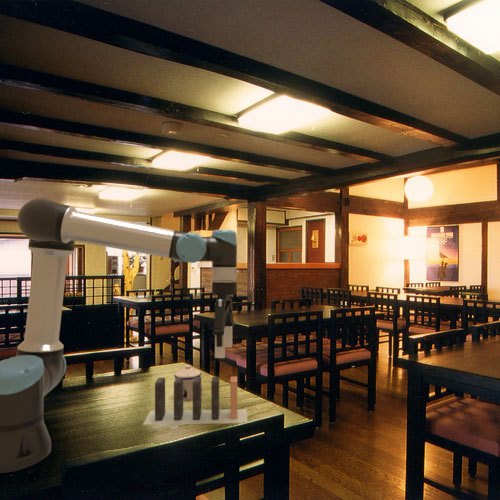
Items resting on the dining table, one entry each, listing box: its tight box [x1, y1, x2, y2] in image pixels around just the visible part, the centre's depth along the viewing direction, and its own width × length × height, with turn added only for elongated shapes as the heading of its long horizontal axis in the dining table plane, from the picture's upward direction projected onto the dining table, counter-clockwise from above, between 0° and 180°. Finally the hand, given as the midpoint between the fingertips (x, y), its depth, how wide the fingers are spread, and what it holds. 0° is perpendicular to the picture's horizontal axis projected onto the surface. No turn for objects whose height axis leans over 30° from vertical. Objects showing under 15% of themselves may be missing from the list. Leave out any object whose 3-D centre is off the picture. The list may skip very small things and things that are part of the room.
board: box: [142, 408, 248, 426], centre depth 116 cm, size 30×10×1 cm, turn 92°
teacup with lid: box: [174, 364, 203, 402], centre depth 132 cm, size 12×9×12 cm
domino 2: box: [173, 377, 184, 420], centre depth 116 cm, size 2×5×11 cm, turn 2°
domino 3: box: [192, 376, 202, 420], centre depth 117 cm, size 2×5×11 cm, turn 1°
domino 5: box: [229, 376, 238, 419], centre depth 117 cm, size 2×5×11 cm, turn 1°
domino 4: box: [210, 376, 220, 420], centre depth 117 cm, size 2×5×11 cm, turn 1°
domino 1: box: [154, 377, 166, 421], centre depth 116 cm, size 2×5×11 cm, turn 1°
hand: (224, 352), depth 117 cm, fingers open, 13 cm apart
